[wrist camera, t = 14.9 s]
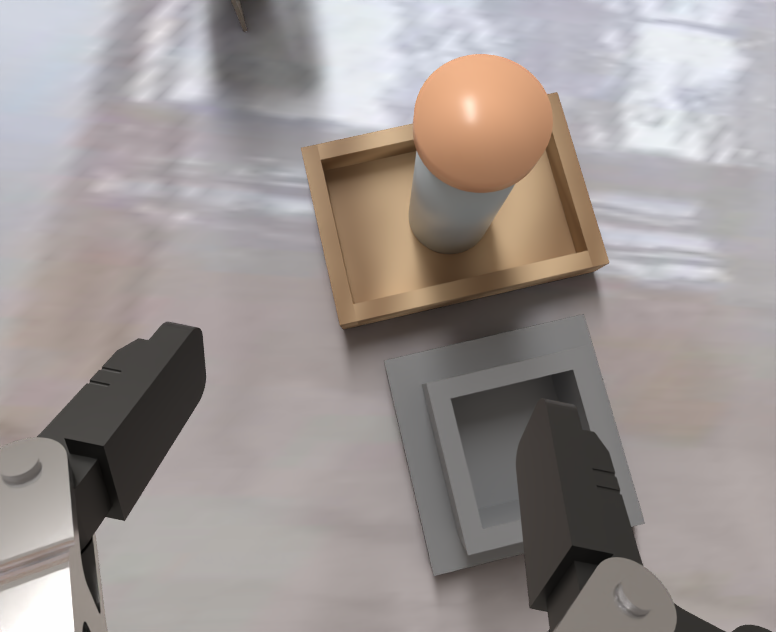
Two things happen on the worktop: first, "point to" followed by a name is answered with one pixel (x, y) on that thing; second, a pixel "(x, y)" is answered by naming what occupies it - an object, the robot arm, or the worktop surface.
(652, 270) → the worktop surface
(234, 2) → the architectural model
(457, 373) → the housing
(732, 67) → the worktop surface
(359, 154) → the tray
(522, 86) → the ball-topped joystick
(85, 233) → the worktop surface
